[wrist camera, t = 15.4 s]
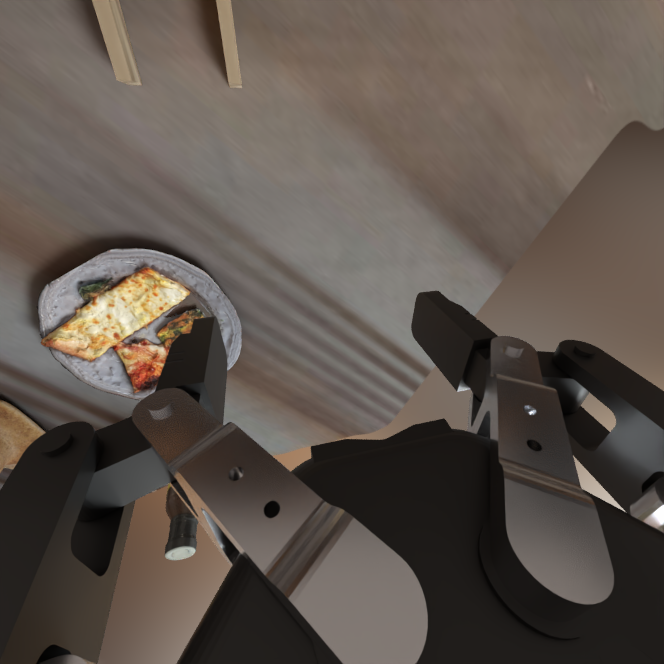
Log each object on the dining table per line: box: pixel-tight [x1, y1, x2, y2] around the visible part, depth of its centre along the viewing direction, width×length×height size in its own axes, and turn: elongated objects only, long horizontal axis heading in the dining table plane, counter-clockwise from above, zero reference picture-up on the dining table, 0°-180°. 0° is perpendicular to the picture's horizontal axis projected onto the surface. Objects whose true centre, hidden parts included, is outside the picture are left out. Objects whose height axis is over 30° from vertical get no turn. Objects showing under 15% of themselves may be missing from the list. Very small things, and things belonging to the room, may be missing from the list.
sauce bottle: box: [165, 484, 198, 560], centre depth 50 cm, size 6×6×20 cm
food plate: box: [37, 248, 242, 400], centre depth 43 cm, size 25×23×4 cm
